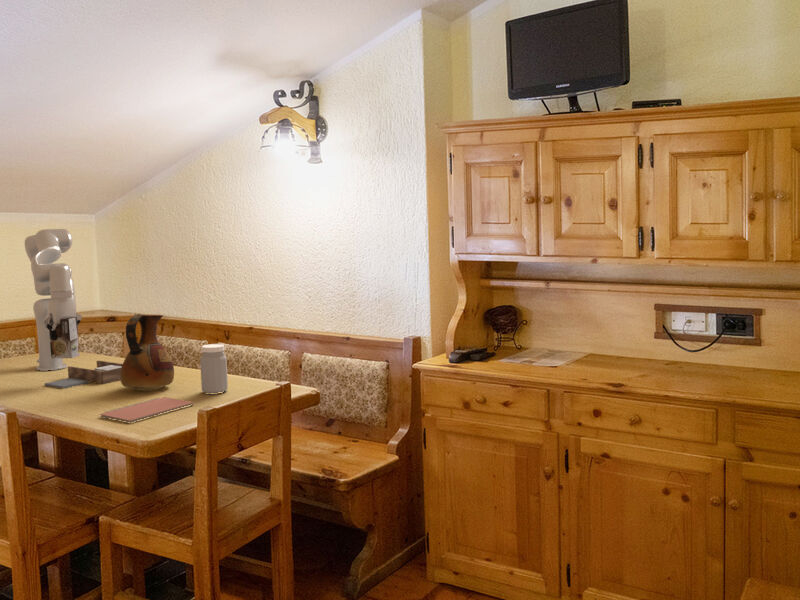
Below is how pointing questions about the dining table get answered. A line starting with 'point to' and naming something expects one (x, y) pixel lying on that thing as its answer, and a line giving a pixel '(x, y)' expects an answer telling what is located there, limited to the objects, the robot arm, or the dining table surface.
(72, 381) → the slate mat
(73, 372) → the tray
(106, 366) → the grey offcut
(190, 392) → the dining table surface
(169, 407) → the notebook
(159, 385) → the ceramic pitcher
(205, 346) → the jar
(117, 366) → the grey offcut
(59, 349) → the coffee box
